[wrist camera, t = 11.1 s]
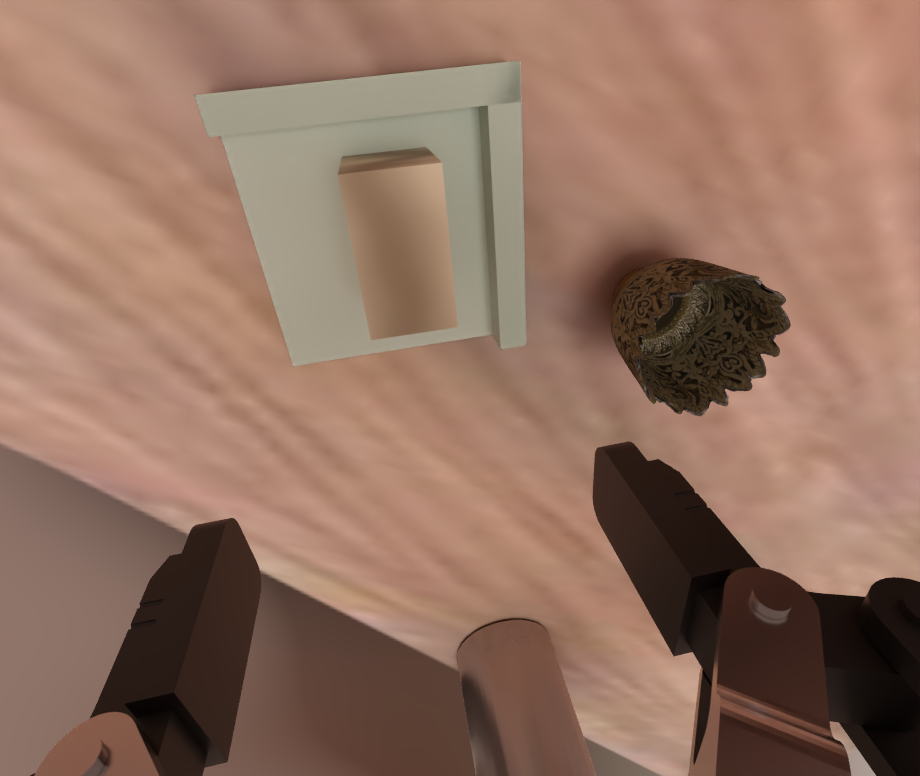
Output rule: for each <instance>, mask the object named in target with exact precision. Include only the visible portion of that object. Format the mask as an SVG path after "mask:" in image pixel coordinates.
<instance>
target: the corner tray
mask: <svg viewBox="0 0 920 776" xmlns="http://www.w3.org/2000/svg"><path fill="white" fill-rule="evenodd" d="M195 98H196V101H197V104H198V107H199V111H200V114H201V117H202V120H203V123H204V126H205V129H206V132H207V135H208V137H216V136H221V138H222V142H223V145H224V148H225V151H226V154H227V158H228V161H229V164H230V167H231V170H232V173H233V177H234V180H235V183H236V186H237V189H238V193H239V196H240V199H241V202H242V205H243V208H244V212H245V215H246V218H247V221H248V224H249V228H250V231H251V234H252V237H253V240H254V244H255V247H256V250H257V253H258V256H259V259H260V263H261V266H262V269H263V272H264V275H265V279H266V282H267V285H268V288H269V291H270V294H271V298H272V301H273V304H274V307H275V310H276V314H277V317H278V320H279V323H280V326H281V330H282V333H283V336H284V339H285V342H286V345H287V349H288V352H289V355H290V358H291V361H292V365H293V366H299V365H305V364H311V363H318V362H324V361H330V360H336V359H343V358H349V357H355V356H361V355H368V354H374V353H380V352H386V351H393V350H399V349H405V348H411V347H418V346H424V345H430V344H436V343H443V342H449V341H455V340H461V339H468V338H474V337H480V336H487V335H493V336H494V338H495V340H496V342H497V344H498V346H499V348H500V349H501V350H502V349H508V348H514V347H520V346H526V299H525V251H524V202H523V154H522V105H521V60H520V61H510V62H501V63H492V64H482V65H473V66H463V67H454V68H444V69H435V70H426V71H416V72H407V73H397V74H388V75H379V76H369V77H360V78H350V79H341V80H332V81H322V82H313V83H303V84H294V85H284V86H275V87H266V88H256V89H247V90H237V91H228V92H219V93H209V94H200V95H195ZM422 147H427V148H428V149H429V150H430V151H431V152H432V153H433V154H434V155H435V156H436V157H437V158H438V159H439V160H440V161H441V162H442V166H443V176H444V187H445V197H446V208H447V218H448V229H449V240H450V250H451V261H452V271H453V282H454V293H455V303H456V314H457V324H458V327H456V328H449V329H443V330H436V331H430V332H423V333H416V334H410V335H403V336H396V337H390V338H383V339H376V340H371V338H370V333H369V328H368V323H367V318H366V313H365V308H364V303H363V298H362V293H361V288H360V283H359V278H358V273H357V268H356V263H355V258H354V253H353V248H352V244H351V239H350V234H349V229H348V224H347V219H346V214H345V209H344V204H343V199H342V194H341V189H340V184H339V179H338V171H339V167H340V163H341V159H342V156H351V155H360V154H369V153H378V152H387V151H395V150H404V149H413V148H422Z"/></svg>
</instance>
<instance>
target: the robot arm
mask: <svg viewBox="0 0 920 776" xmlns="http://www.w3.org/2000/svg"><path fill="white" fill-rule="evenodd" d="M593 505H594V510H595V513H596V516H597V519H598V521H599V523H600V525H601V527H602V529H603V531H604V532H605V534H606V536H607V538H608V540H609V541H610V543H611V545H612V547H613V549H614V550H615V552H616V554H617V556H618V558H619V559H620V561H621V563H622V565H623V566H624V568H625V570H626V572H627V574H628V575H629V577H630V579H631V581H632V583H633V584H634V586H635V588H636V590H637V591H638V593H639V595H640V597H641V599H642V600H643V602H644V604H645V606H646V608H647V609H648V611H649V613H650V615H651V616H652V618H653V620H654V622H655V624H656V625H657V627H658V629H659V631H660V633H661V634H662V636H663V638H664V640H665V641H666V643H667V645H668V647H669V649H670V650H671V652H672V654H673V656H677V655H681V654H685V653H690V652H693V653H694V655H695V657H696V658H697V660H698V662H699V663H700V665H701V670H700V674H699V683H698V693H697V702H696V711H695V720H694V730H693V739H692V748H691V757H690V766H689V774H688V776H851V770H850V764H849V759H848V755H847V752H846V749H845V747H844V745H843V744H842V743H841V742H840V741H838V740H835V739H834V738H833V736H832V733H831V729H830V721H833V722H839V723H840V725H841V726H842V727H843V729H844V730H845V732H846V733H847V734H848V736H849V737H850V739H851V740H852V742H853V743H854V744H855V746H856V747H857V749H858V750H859V751H860V753H861V754H862V756H863V757H864V759H865V760H866V762H867V763H868V764H869V766H870V767H871V769H872V770H873V771H874V773H875V774H876V776H920V582H918V581H914V580H911V579H905V578H895V577H893V578H885V579H881V580H879V581H877V582H875V583H874V584H873V585H872V586H871V588H870V590H869V592H868V594H867V595H866V597H860V596H847V595H835V594H822V593H814V592H808V591H806V590H805V589H804V588H802V587H801V586H800V585H799V584H798V583H796V582H795V581H794V580H792V579H790V578H789V577H787V576H785V575H783V574H781V573H778V572H776V571H773V570H769V569H765V568H761V567H760V566H759V565H758V564H757V563H756V562H755V561H754V560H753V558H752V557H751V556H750V555H749V554H748V553H747V551H746V550H745V549H744V548H743V547H742V545H741V544H740V543H739V542H738V541H737V540H736V538H735V537H734V536H733V535H732V534H731V532H730V531H729V530H728V529H727V528H726V527H725V525H724V524H723V523H722V522H721V521H720V519H719V518H718V517H717V516H716V515H715V514H714V512H713V511H712V510H711V509H710V508H707V505H706V503H705V502H704V501H703V499H702V498H701V497H700V496H699V495H698V494H697V493H695V492H694V489H693V488H692V486H691V485H690V484H689V483H688V482H687V481H686V479H685V478H684V477H683V476H682V475H681V473H680V472H678V471H677V470H675V469H673V468H672V467H670V466H668V465H667V464H665V463H664V462H662V461H660V460H659V459H657V460H652V461H647V460H646V458H645V457H644V456H643V455H642V453H641V452H640V451H639V450H638V448H637V447H636V446H635V445H634V444H633V443H632V442H624V443H619V444H614V445H609V446H603V447H599V448H597V449H596V452H595V463H594V481H593ZM260 593H261V576H260V570H259V567H258V564H257V562H256V559H255V557H254V555H253V553H252V551H251V549H250V547H249V545H248V543H247V541H246V538H245V536H244V534H243V532H242V530H241V528H240V526H239V524H238V522H237V521H236V520H235V519H234V518H229V519H224V520H219V521H214V522H209V523H204V524H198V525H195V526H194V527H193V528H192V529H191V531H190V533H189V536H188V538H187V541H186V544H185V546H184V549H183V551H182V554H177V555H172V556H169V557H168V559H167V560H166V561H165V562H164V563H163V565H162V566H161V567H160V568H159V569H158V570H157V572H156V573H155V574H154V575H153V576H152V578H151V579H150V581H149V583H148V585H147V588H146V590H145V592H144V595H143V597H142V600H141V602H140V608H139V609H137V611H136V614H135V616H134V618H133V620H132V623H131V629H130V630H128V632H127V634H126V637H125V639H124V641H123V644H122V646H121V648H120V651H119V653H118V655H117V658H116V660H115V662H114V665H113V667H112V669H111V672H110V674H109V676H108V679H107V681H106V683H105V686H104V688H103V690H102V693H101V695H100V697H99V700H98V702H97V704H96V707H95V709H94V711H93V713H92V715H91V717H90V719H88V720H87V721H85V722H83V723H81V724H80V725H78V726H77V727H76V728H74V729H73V730H71V731H70V732H69V733H68V734H66V735H65V736H64V737H63V738H62V739H61V740H60V741H59V742H58V743H57V744H56V745H55V746H54V747H53V748H52V750H51V751H50V752H49V753H48V754H47V756H46V757H45V758H44V760H43V762H42V763H41V764H40V766H39V768H38V770H37V771H36V773H34V774H33V775H31V776H202V775H203V771H204V768H205V767H208V766H213V765H217V764H221V763H225V762H227V761H228V757H229V752H230V746H231V742H232V736H233V731H234V726H235V721H236V716H237V711H238V705H239V701H240V696H241V690H242V685H243V680H244V675H245V670H246V665H247V660H248V655H249V650H250V644H251V639H252V634H253V629H254V624H255V619H256V614H257V609H258V604H259V599H260ZM457 662H458V668H459V674H460V680H461V686H462V692H463V698H464V706H465V712H466V718H467V724H468V730H469V735H470V741H471V747H472V753H473V759H474V765H475V771H476V776H597V775H596V772H595V769H594V766H593V763H592V760H591V757H590V754H589V752H588V749H587V746H586V743H585V740H584V737H583V734H582V731H581V728H580V725H579V722H578V719H577V716H576V713H575V710H574V708H573V705H572V702H571V699H570V696H569V693H568V690H567V687H566V684H565V681H564V678H563V675H562V672H561V669H560V666H559V663H558V660H557V658H556V655H555V652H554V649H553V646H552V643H551V640H550V637H549V635H548V632H547V631H546V629H545V628H544V627H543V626H541V625H539V624H538V623H535V622H532V621H526V620H509V621H503V622H499V623H495V624H491V625H489V626H487V627H484V628H482V629H480V630H478V631H477V632H475V633H473V634H472V635H471V636H470V637H468V638H467V639H466V640H465V641H464V642H463V644H462V645H461V646H460V648H459V650H458V653H457Z"/></svg>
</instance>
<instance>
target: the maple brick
mask: <svg viewBox="0 0 920 776" xmlns="http://www.w3.org/2000/svg"><path fill="white" fill-rule="evenodd" d="M338 179H339V184H340V189H341V194H342V199H343V204H344V209H345V214H346V219H347V224H348V229H349V234H350V239H351V244H352V248H353V253H354V258H355V263H356V268H357V273H358V278H359V283H360V288H361V293H362V298H363V303H364V308H365V313H366V318H367V323H368V328H369V333H370V338H371V340H376V339H383V338H390V337H396V336H403V335H410V334H416V333H423V332H430V331H436V330H443V329H449V328H456V327H458V324H457V314H456V303H455V293H454V282H453V271H452V261H451V250H450V240H449V229H448V218H447V208H446V197H445V187H444V176H443V166H442V162H441V161H440V160H439V159H438V158H437V157H436V156H435V155H434V154H433V153H432V152H431V151H430V150H429V149H428V148H427V147H422V148H413V149H404V150H395V151H387V152H378V153H369V154H360V155H351V156H342V159H341V163H340V167H339V171H338Z"/></svg>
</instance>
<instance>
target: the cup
mask: <svg viewBox="0 0 920 776" xmlns="http://www.w3.org/2000/svg"><path fill="white" fill-rule="evenodd" d="M785 302H786V299H785V297H784V296H783V295H782V294H781V293H779V292H777V291H773V290H771V289H769V288H767V287H765V286H764V285H763V284H762V281H760V280H759V277H757V276H752V275H748V274H744V273H741V272H738V271H735V270H732V269H728V268H725V267H722V266H718V265H715V264H711V263H708V262H704V261H699V260H694V259H684V258H674V259H667V260H663V261H659V262H656V263H653V264H651V265H649V266H647V267H645V268H640V269H637V270H634V271H632V272H631V273H629V274H628V275H626V276H625V277H624V278H623V279H622V280H621V282H620V283H619V285H618V286H617V288H616V291H615V294H614V306H613V309H612V314H611V330H612V335H613V339H614V342H615V344H616V347H617V349H618V351H619V353H620V354H621V356H622V358H623V360H624V361H625V363H626V364H627V366H628V368H629V369H630V371H631V372H632V374H633V375H634V377H635V378H636V380H637V381H638V383H639V384H640V386H641V387H642V389H643V391H644V392H645V394H646V396H647V397H648V399H649V400H650V401H651V402H652V403H653V404H655V403H656V400H657V401H659V402H660V403H661V402H663V403H666V404H667V405H668V406H669V407H670V408H671V409H673V410H674V411H675V412H676V413H678V414H681V413H682V411H683V410H685V411H687V412H689V413H691V414H693V415H696V416H701V415H703V414H705V412H706V410H707V409H708V408H709V405H710V402H711V401H713V402H715V403H717V404H720V405H722V406H728V397H729V396H727V394H726V392H725V389H728V390H731V391H749V390H751V389H752V383H751V380H752V379H753V378H754V379H755V378H763V377H764V376H765V375H766V367H765V363H764V360H763V359H762V357H761V355H760V354H767V355H771V356H773V357H776V356H779V353H780V349H779V347H778V346H777V345H776V343H775V342H774V340H773V339H774V338H775V337H776V335H779V334H782V333H784V332H785V331H787V330H788V329H789V328H790V326H791V325H790V321H789V318H788V316H787V314H786V313H785V311H784V310H783V309H782V307H781V305H783V304H784V303H785ZM774 336H775V337H774Z"/></svg>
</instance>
